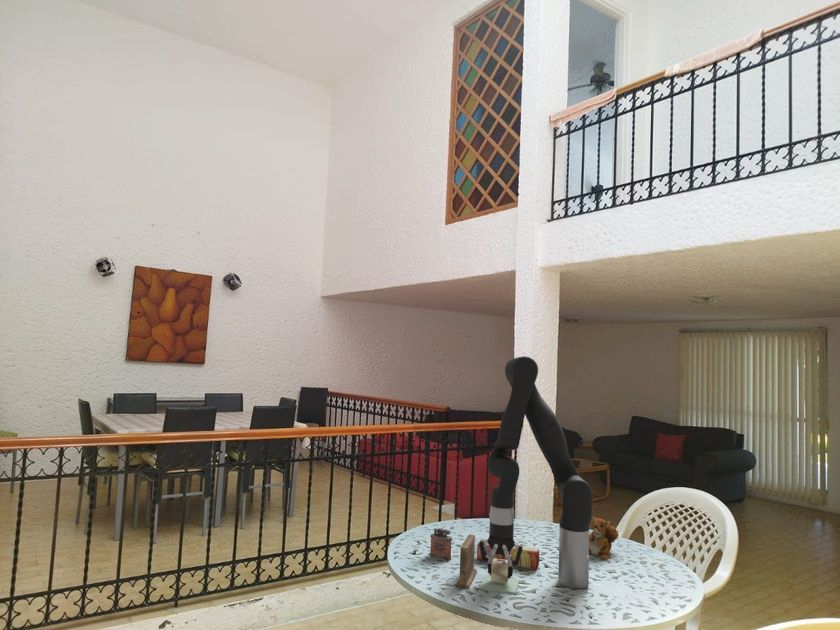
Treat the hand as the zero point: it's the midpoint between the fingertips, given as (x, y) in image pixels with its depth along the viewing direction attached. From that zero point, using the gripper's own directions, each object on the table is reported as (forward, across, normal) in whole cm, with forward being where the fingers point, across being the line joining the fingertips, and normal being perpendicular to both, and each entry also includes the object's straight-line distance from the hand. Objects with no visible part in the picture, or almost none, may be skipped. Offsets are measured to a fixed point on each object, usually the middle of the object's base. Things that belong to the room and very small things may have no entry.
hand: (500, 576), depth 175 cm
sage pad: (+3, 0, 0) cm, 3 cm away
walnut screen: (+3, +10, 0) cm, 11 cm away
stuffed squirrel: (+3, -31, -44) cm, 54 cm away
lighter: (+3, +23, -16) cm, 28 cm away
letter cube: (+1, 0, 0) cm, 1 cm away
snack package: (+3, 0, -20) cm, 20 cm away
